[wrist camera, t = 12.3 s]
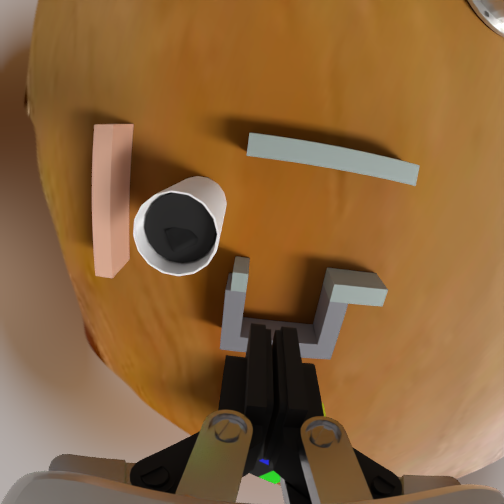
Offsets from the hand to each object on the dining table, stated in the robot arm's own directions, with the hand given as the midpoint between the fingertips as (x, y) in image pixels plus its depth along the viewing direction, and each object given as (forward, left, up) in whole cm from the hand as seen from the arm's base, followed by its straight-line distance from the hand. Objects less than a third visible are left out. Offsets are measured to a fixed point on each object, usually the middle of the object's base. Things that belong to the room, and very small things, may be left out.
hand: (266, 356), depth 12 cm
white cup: (+7, 0, -23) cm, 24 cm away
